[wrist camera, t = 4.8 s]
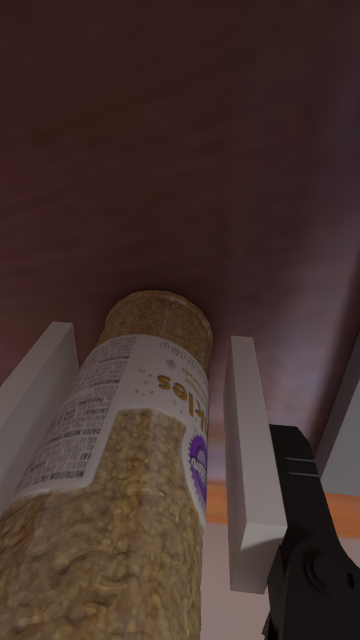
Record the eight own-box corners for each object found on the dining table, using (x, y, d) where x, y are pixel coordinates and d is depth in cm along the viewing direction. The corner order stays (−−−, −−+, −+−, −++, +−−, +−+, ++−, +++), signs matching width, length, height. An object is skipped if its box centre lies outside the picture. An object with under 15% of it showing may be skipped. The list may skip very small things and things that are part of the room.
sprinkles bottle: (231, 353, 15) (302, 1246, 3) (142, 389, 16) (-41, 1090, 4) (176, 264, 13) (-174, 1640, 1) (82, 313, 14) (-493, 1159, 3)
